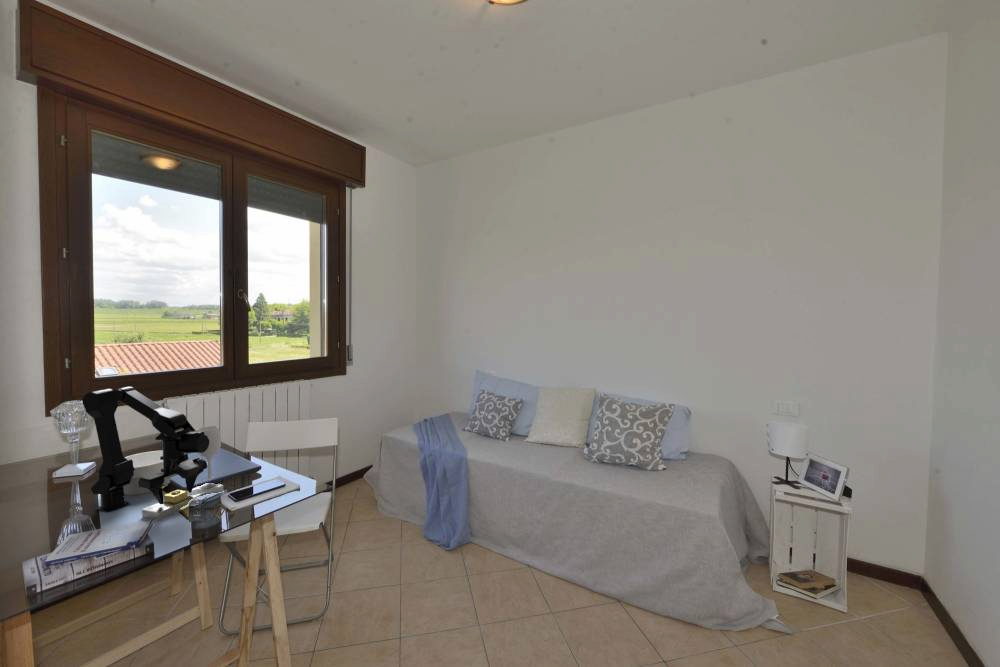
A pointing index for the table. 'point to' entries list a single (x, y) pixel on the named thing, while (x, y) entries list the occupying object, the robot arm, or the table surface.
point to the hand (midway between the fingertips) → (176, 498)
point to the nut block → (175, 497)
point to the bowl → (144, 470)
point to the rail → (166, 510)
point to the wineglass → (211, 444)
